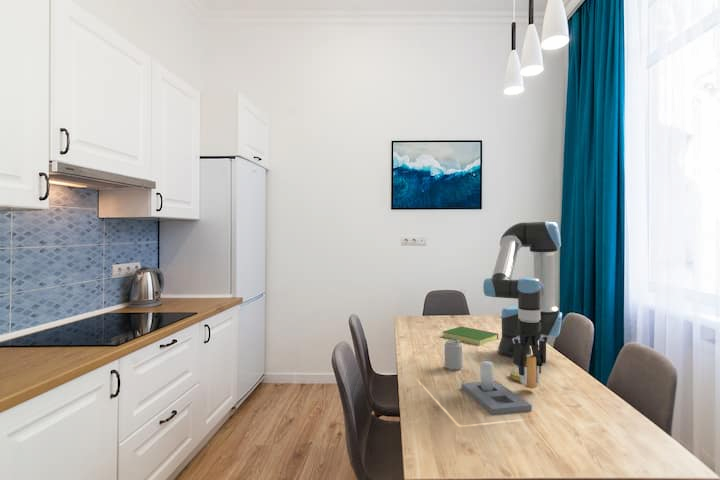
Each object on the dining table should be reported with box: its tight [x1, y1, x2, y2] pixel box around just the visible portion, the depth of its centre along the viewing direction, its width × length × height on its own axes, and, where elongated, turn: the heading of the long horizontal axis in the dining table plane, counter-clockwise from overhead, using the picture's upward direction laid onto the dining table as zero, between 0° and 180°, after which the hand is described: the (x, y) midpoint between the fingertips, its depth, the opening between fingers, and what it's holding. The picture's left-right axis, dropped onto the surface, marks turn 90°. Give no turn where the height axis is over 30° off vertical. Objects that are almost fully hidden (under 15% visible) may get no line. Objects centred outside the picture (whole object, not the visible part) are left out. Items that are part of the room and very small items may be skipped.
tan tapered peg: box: [523, 354, 537, 389], centre depth 140 cm, size 4×4×11 cm
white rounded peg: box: [480, 360, 494, 392], centre depth 138 cm, size 4×4×11 cm
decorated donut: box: [510, 368, 521, 383], centre depth 152 cm, size 10×11×4 cm
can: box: [444, 339, 463, 371], centre depth 167 cm, size 8×8×12 cm
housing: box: [461, 380, 533, 416], centre depth 133 cm, size 22×14×2 cm, turn 10°
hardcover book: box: [442, 325, 499, 346], centre depth 217 cm, size 25×19×4 cm
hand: (529, 382), depth 140 cm, fingers closed on tan tapered peg, 4 cm apart
